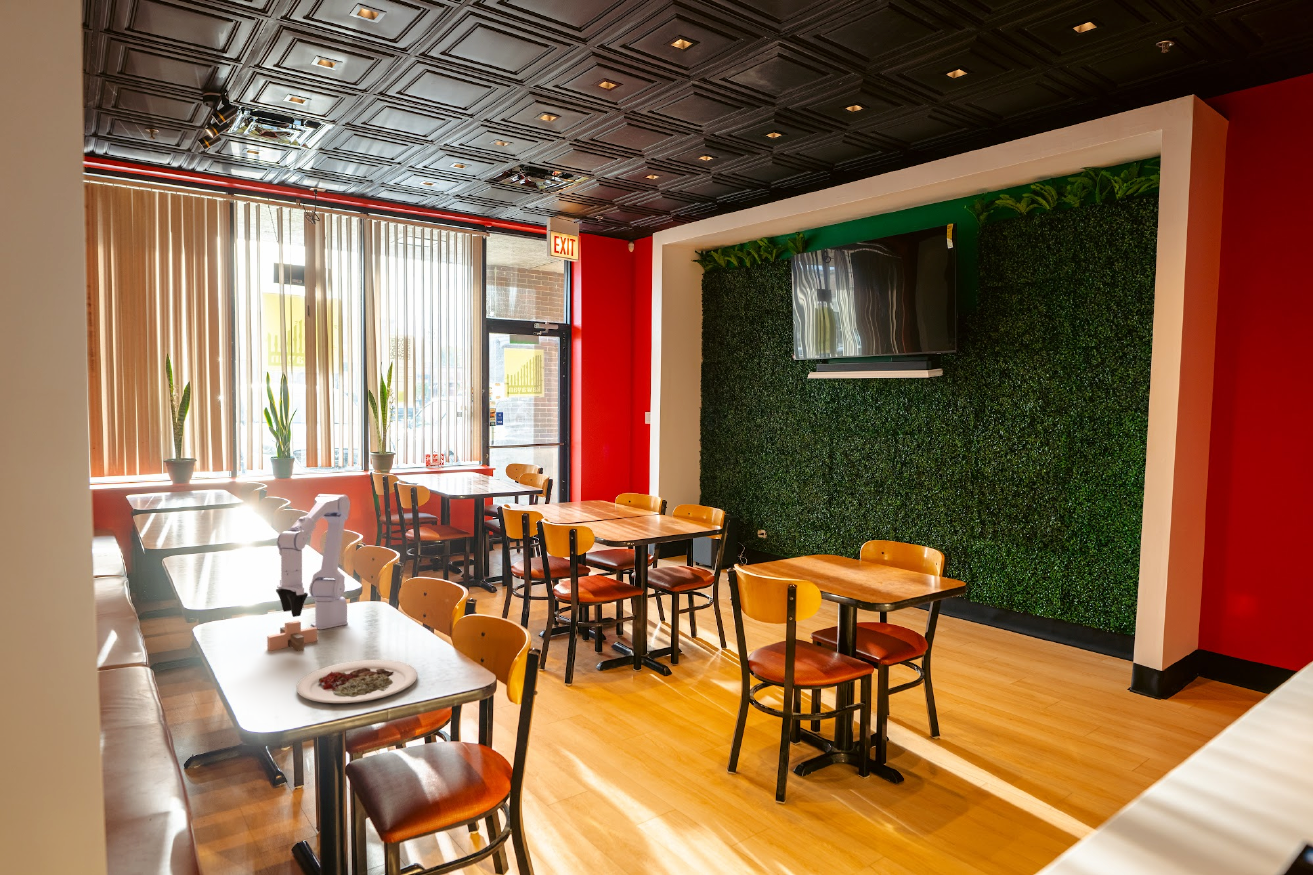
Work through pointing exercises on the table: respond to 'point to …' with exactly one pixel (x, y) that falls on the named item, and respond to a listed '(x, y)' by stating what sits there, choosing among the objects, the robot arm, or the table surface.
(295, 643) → the walnut notched bar
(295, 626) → the salmon stepped block
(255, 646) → the table surface
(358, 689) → the plated food
